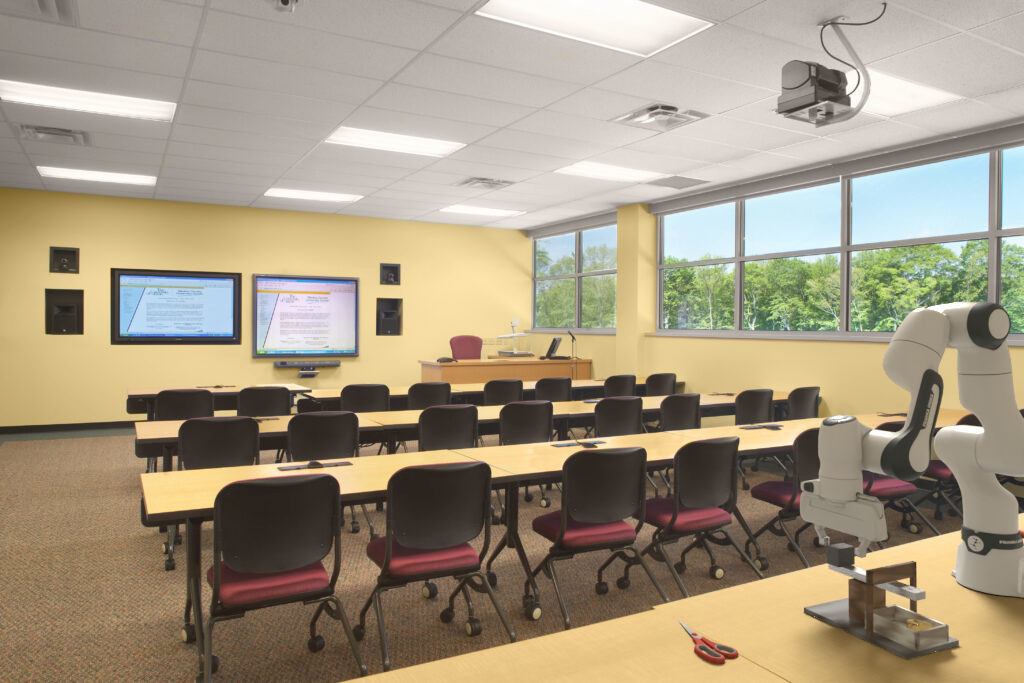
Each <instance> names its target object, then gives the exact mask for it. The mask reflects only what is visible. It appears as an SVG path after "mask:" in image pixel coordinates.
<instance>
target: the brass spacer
mask: <svg viewBox="0 0 1024 683" xmlns="http://www.w3.org/2000/svg"><path fill="white" fill-rule="evenodd" d="M907 628H909V629H912V630H914V631H916V632H917V631H921V630H925V629H929V628H933V626H932V624H930V623H929V622H926V621H923V620H918V619H909V620H907Z"/></svg>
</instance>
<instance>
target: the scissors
mask: <svg viewBox="0 0 1024 683" xmlns="http://www.w3.org/2000/svg"><path fill="white" fill-rule="evenodd" d="M677 621H678V624H680V625H681V627H682V628H683V629H684V630H685V631H686V633H687V634H688V635H689V636H690V638H691V639H692V642H694V644H695V645H694V648H693V650H694V652H695V654H697V656H698V657H700V658H701V659H703V660H704V661H707V662H709V663H711V664H714V665H715V664H716V665H721V664H724V663H725V662H726V659H730V660H732V659H733V660H734V659H737V658H738V657H739V651H738V650H737V649H736V648H735V647H732V646H729V645H726V644H722V643H717V642H713V641H712V640H710V639H708V638H707V637H704V636H701V635H700V634H698V633H696V632H695V631H693V630H692V629H691V628H690V627H689V626H687V625H686V624H685V623H683V622H682V621H681V620H679V619H677ZM702 650H704V651H705V652H706V653H705V652H704V651H702ZM722 650H723V651H722ZM725 651H727V652H725ZM707 653H708V654H707Z"/></svg>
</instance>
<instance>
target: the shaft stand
mask: <svg viewBox="0 0 1024 683" xmlns="http://www.w3.org/2000/svg"><path fill="white" fill-rule="evenodd" d="M865 570H866V583H865V582H863V581H860V580H857V579H855V578H850V579H848V580H847V581H848V597H845V598H841V599H837V600H832V601H828V602H823V603H819V604H813V605H809V606H806V607H803V613H805V612H806V614H807V613H808V614H807V615H809V614H810V615H809V616H811V615H812V616H811V617H814V616H815V617H814V618H816V617H817V618H816V619H818V618H819V619H818V620H820V619H821V620H820V621H822V620H823V622H824V621H825V622H824V623H826V622H827V624H829V625H831V626H833V627H835V628H837V629H839V630H842V631H844V632H846V633H848V634H851V635H852V636H854V637H857V638H859V639H861V640H863V641H866V642H867V643H869V644H872V645H874V646H875V647H879V648H880V649H882V648H883V650H885V651H887V652H889V653H891V654H893V655H895V656H898V657H899V658H902V659H904V660H906V659H907V661H908V659H909V660H913V659H915V658H918V657H919V656H920V657H923V656H926V655H925V654H927V655H930V654H933V653H932V652H934V653H936V652H935V651H937V652H941V651H944V650H948V649H951V648H954V646H955V647H958V646H960V644H959V642H960V641H959V639H957V638H954V637H951V636H950V633H949V629H950V628H949V624H946V623H944V622H941V621H939V620H936V619H933V618H931V617H928V616H926V615H923V614H920V613H918V607H917V606H918V602H917V601H914V600H911V599H909V609H908V608H905V607H902V606H900V605H898V604H889V605H887V600H886V598H887V595H886V591H887V590H884V589H882V588H879V587H876V586H874V585H878V584H883V583H888V582H892V581H901V580H906V579H909V586H912V587H915V588H917V587H918V586H917V584H918V583H917V580H918V579H917V571H918V570H917V561H915V560H911V561H906V562H902V563H895V564H891V565H885V566H881V567H875V568H871V569H865ZM909 619H918V620H923V621H926V622H929V623H930V624H932V626H933V628H929V629H925V630H921V631H917V632H916V631H914V630H912V629H909V628H907V620H909ZM940 650H941V651H940ZM929 653H930V654H929ZM920 657H919V658H920ZM912 658H913V659H912Z"/></svg>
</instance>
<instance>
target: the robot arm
mask: <svg viewBox="0 0 1024 683" xmlns="http://www.w3.org/2000/svg"><path fill="white" fill-rule="evenodd" d="M1011 326H1012V322H1011V317H1010V314H1009V313H1008V311H1007V309H1005V308H1004V307H1003V305H1001V304H999V303H995V302H990V301H979V302H976V301H975V302H973V301H956V302H951V303H943V304H938V305H931V304H930V305H925V306H922V307H919V308H916V309H913V310H911V311H910V312H909V313H908V314H907V315H906V317H904V319H903V320H902V322H901V323H900V324H899V326H898V327H897V329H896V331H895V332H894V334H893V336H892V337H891V339H890V342H889V344H888V346H887V348H886V350H885V353H884V354H883V355H884V356H883V358H882V367H883V370H884V373H885V375H886V376H887V378H888V379H889V380H890V381H891V382H893V383H894V384H895V385H897V386H899V388H901V389H903V390H905V391H906V392H909V393H910V402H909V407H908V411H907V414H906V418H905V422H904V425H903V427H902V428H901V429H900V430H899V431H898V430H897V431H896V432H894V431H887V430H881V429H876V428H873V427H870V426H869V425H868V426H867V425H865V424H863V423H862V422H860V421H859V419H858V418H857V417H856V416H853V415H848V414H847V415H846V414H839V415H832V416H828V417H826V418H824V419H823V420H822V421H821V422H820V426H819V431H818V437H817V438H818V439H817V440H818V441H817V442H818V443H817V448H818V449H817V451H818V452H817V454H818V458H819V462H820V467H819V469H818V470H819V471H818V477H817V478H814V479H811V480H804V481H801V482H800V490H801V491H802V492H801V494H800V495H799V496H800V498H799V514H800V517H801V518H802V520H803V521H805V522H808V523H811V524H813V525H814V530H815V531H816V534H817V536H818V543H819V545H821V546H826V547H827V545H831V542H830V540H831V537H829V536H828V535H827V532H826V530H825V529H826V528H828V529H830V530H834V531H837V532H841V533H844V534H847V535H850V536H853V537H858V542H859V543H860V544H859V546H858V547H854V549H855V556H856V557H857V558H861V559H863V558H866V557H867V549H868V547H869V546H870V544H871V543H872V542H876V543H877V542H881V541H884V540H885V539H886V538H887V536H888V528H887V522H886V521H887V520H886V516H885V507H884V504H883V502H881V500H880V499H878V496H877V497H876V496H874V495H868V494H865V493H864V480H863V478H864V476H863V471H869V472H871V473H875V474H878V475H879V474H880V475H884V476H888V477H890V478H893V479H896V480H899V481H902V482H912V481H915V480H917V479H919V478H920V477H921V476H923V475H924V474H925V473H926V471H927V470H928V469H929V467H930V464H931V459H932V458H931V457H932V442H933V450H934V452H935V455H936V456H937V458H938V459H939V460H940V461H941V462H943V463H944V465H945V466H946V467H947V468H948V469H949V471H951V473H952V474H953V476H954V478H955V479H956V482H957V484H958V486H959V490H960V494H961V499H962V511H963V512H962V514H963V515H962V516H963V518H962V519H963V520H962V522H963V523H962V524H961V527H960V528H961V529H960V534H961V535H960V536H961V537H960V539H961V540H962V541H961V542H959V543H958V545H957V551H956V561H955V568H953V569H951V572H950V573H951V575H952V576H953V577H955V581H956V582H957V583H958V584H960V585H961V586H964V587H966V588H967V589H971V590H974V591H978V592H982V593H986V594H992V595H996V596H997V595H998V596H1005V597H1016V598H1017V597H1018V598H1024V530H1022V529H1019V502H1018V500H1017V498H1016V496H1015V495H1014V493H1012V492H1010V491H1009V490H1008V489H1006V488H1005V487H1004V486H1002V484H1000V482H999V480H998V478H997V476H996V474H998V475H1002V476H1009V477H1014V478H1024V417H1023V415H1022V414H1021V412H1020V410H1019V407H1018V404H1017V401H1016V395H1015V387H1014V379H1013V378H1014V377H1013V376H1014V374H1013V367H1012V366H1013V365H1012V359H1011V358H1012V357H1011V353H1010V350H1009V346H1008V342H1007V338H1008V337H1009V334H1010V332H1011ZM946 349H954V350H955V349H956V350H957V353H956V370H957V371H956V372H957V388H958V400H959V403H960V405H961V406H962V408H964V409H965V410H966V411H968V412H970V413H972V414H973V415H974V416H975V417H976V419H978V421H979V422H980V425H981V426H979V425H978V426H976V425H969V424H959V425H948V426H943V427H942V428H941V429H939V430H938V431H937V433H936V435H935V434H934V433H935V430H936V425H937V421H938V418H939V413H940V409H941V405H942V399H943V396H944V395H943V394H944V389H945V388H944V386H945V385H944V379H943V377H942V375H941V374H940V373H939V366H940V363H941V361H942V360H943V359H942V358H943V357H944V354H945V351H946ZM934 435H935V436H934ZM933 437H934V438H933Z"/></svg>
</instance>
